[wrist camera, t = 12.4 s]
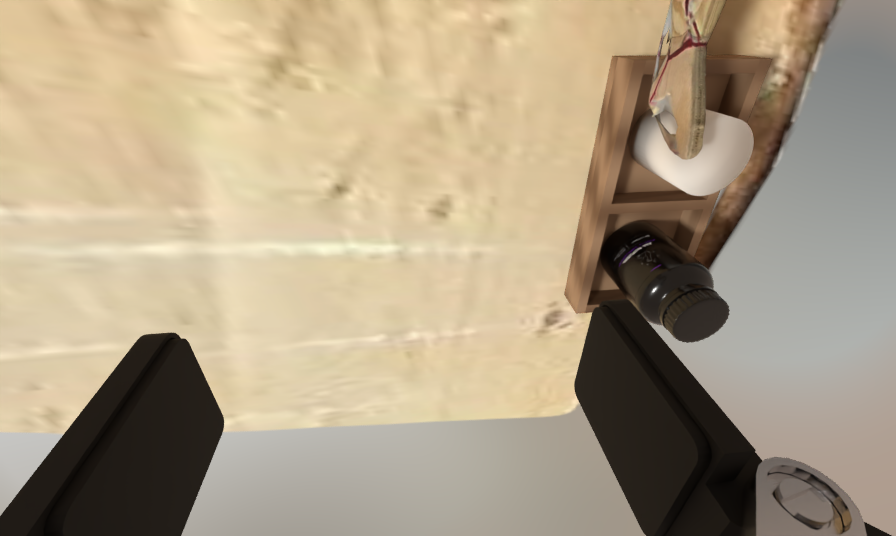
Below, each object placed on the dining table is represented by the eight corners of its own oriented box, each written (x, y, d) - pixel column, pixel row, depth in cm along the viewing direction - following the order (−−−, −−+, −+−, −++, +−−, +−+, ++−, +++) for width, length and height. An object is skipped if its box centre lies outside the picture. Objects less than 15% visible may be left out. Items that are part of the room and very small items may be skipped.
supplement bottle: (613, 215, 40) (688, 282, 30) (671, 223, 41) (761, 290, 31) (587, 272, 43) (647, 349, 33) (642, 278, 45) (714, 354, 35)
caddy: (612, 56, 33) (634, 60, 30) (739, 55, 34) (771, 59, 31) (564, 294, 46) (576, 313, 43) (657, 287, 47) (674, 305, 44)
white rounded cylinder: (639, 100, 34) (690, 118, 28) (703, 99, 35) (767, 116, 29) (622, 168, 37) (665, 197, 31) (681, 166, 38) (734, 194, 32)
